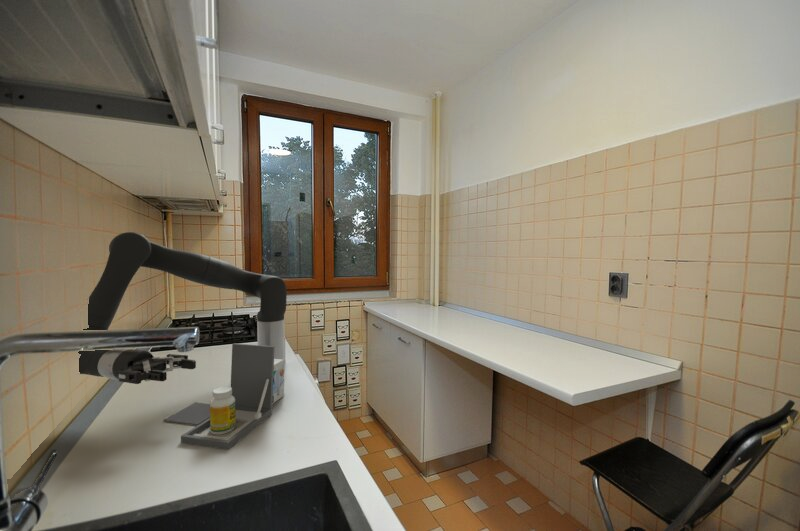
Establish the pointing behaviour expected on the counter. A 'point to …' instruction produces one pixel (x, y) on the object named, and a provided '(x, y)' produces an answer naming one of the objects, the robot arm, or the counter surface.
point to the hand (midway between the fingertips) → (180, 370)
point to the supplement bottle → (222, 411)
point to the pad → (191, 414)
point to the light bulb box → (278, 380)
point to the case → (243, 395)
